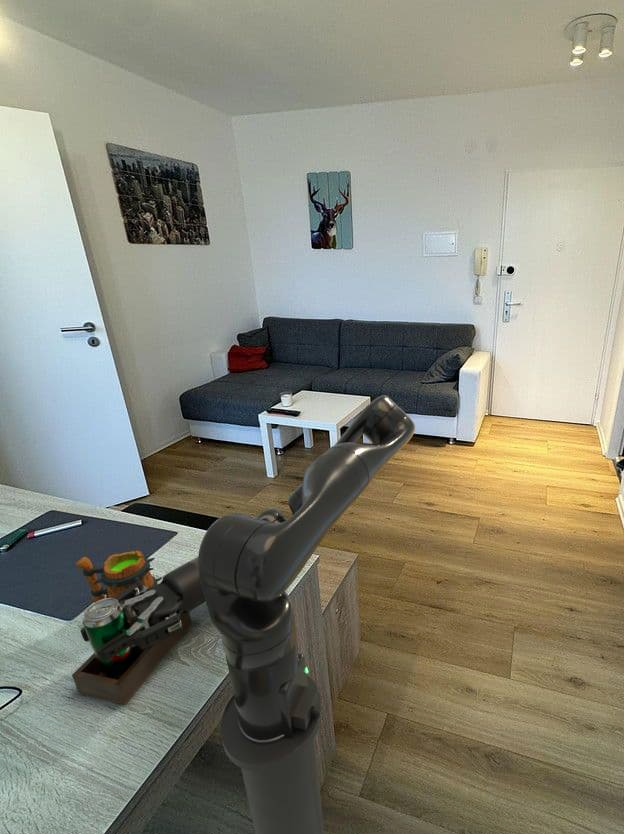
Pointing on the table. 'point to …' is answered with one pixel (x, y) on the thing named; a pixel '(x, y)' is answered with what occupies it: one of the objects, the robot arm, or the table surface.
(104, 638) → the soda can
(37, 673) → the table surface
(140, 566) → the mug
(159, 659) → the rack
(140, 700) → the table surface
